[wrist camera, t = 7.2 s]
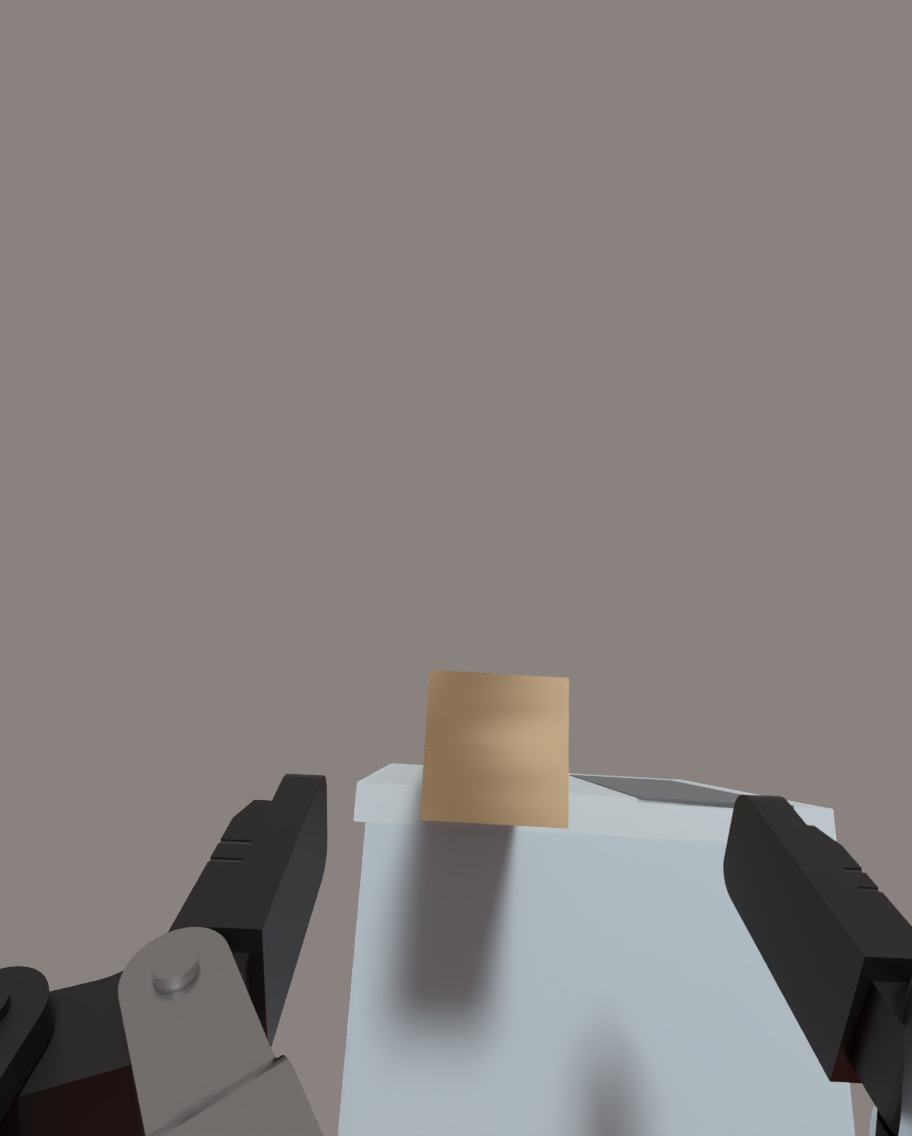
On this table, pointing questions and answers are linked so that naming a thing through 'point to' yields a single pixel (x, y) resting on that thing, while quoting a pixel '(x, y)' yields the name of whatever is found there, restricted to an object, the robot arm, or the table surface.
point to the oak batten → (496, 749)
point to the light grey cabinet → (569, 975)
